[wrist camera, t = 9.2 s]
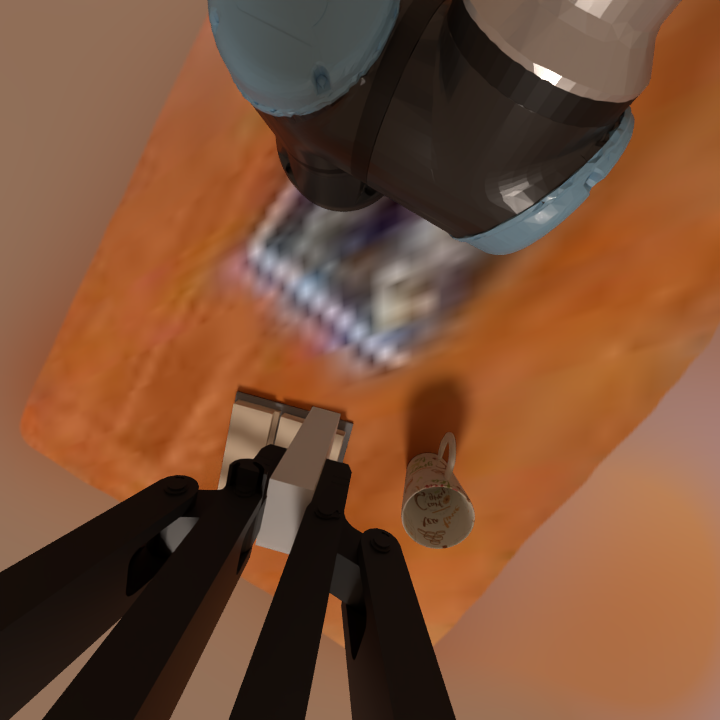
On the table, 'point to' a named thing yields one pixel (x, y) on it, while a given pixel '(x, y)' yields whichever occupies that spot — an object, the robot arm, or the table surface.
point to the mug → (436, 500)
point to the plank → (290, 428)
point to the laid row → (260, 429)
